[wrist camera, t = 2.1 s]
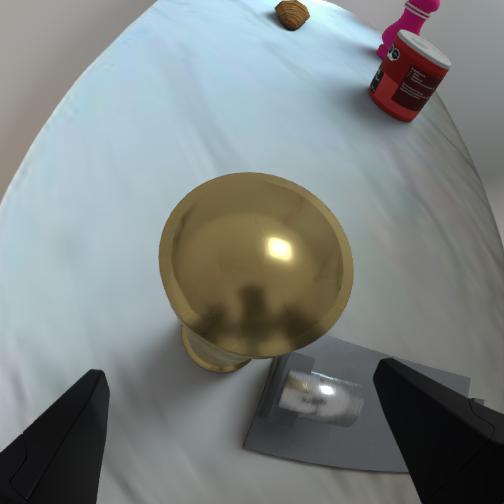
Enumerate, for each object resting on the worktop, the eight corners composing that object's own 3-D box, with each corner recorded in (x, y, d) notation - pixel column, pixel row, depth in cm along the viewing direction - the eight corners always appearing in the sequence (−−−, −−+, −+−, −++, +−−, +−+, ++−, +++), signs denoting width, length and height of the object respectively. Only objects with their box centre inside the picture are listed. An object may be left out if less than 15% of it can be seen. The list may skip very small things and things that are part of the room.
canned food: (382, 83, 38) (412, 30, 28) (421, 117, 36) (458, 65, 26) (356, 89, 35) (388, 27, 25) (400, 128, 33) (442, 66, 23)
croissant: (273, 8, 46) (278, -12, 41) (305, 15, 47) (311, -4, 42) (270, 28, 40) (276, 4, 36) (309, 37, 41) (317, 14, 36)
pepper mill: (374, 45, 45) (411, -29, 28) (406, 62, 45) (446, -9, 28) (373, 56, 42) (415, -28, 24) (408, 75, 42) (454, -4, 24)
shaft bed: (468, 378, 20) (493, 373, 17) (446, 470, 16) (472, 474, 13) (286, 322, 20) (301, 311, 17) (243, 446, 16) (252, 458, 13)
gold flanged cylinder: (234, 386, 18) (302, 394, 6) (167, 344, 18) (117, 277, 7) (272, 323, 20) (375, 233, 8) (209, 284, 20) (230, 146, 9)
